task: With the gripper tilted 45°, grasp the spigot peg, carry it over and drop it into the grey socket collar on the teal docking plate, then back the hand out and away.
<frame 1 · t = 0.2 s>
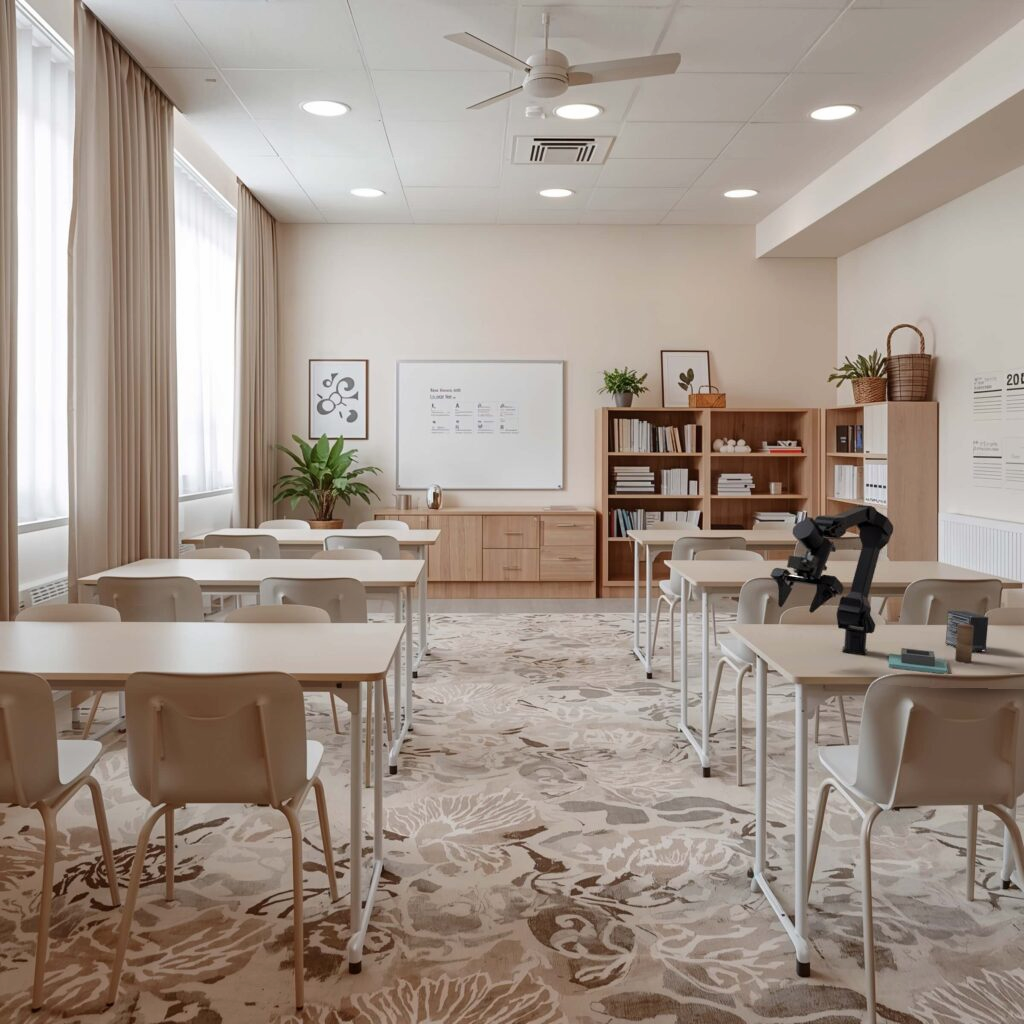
hand: (794, 609, 234), 15 cm above the table, tool tilted 35°, fingers open, 9 cm apart
small box: (965, 649, 266), on the table
docking socket: (917, 665, 241), on the table
spigot peg: (963, 661, 248), on the table
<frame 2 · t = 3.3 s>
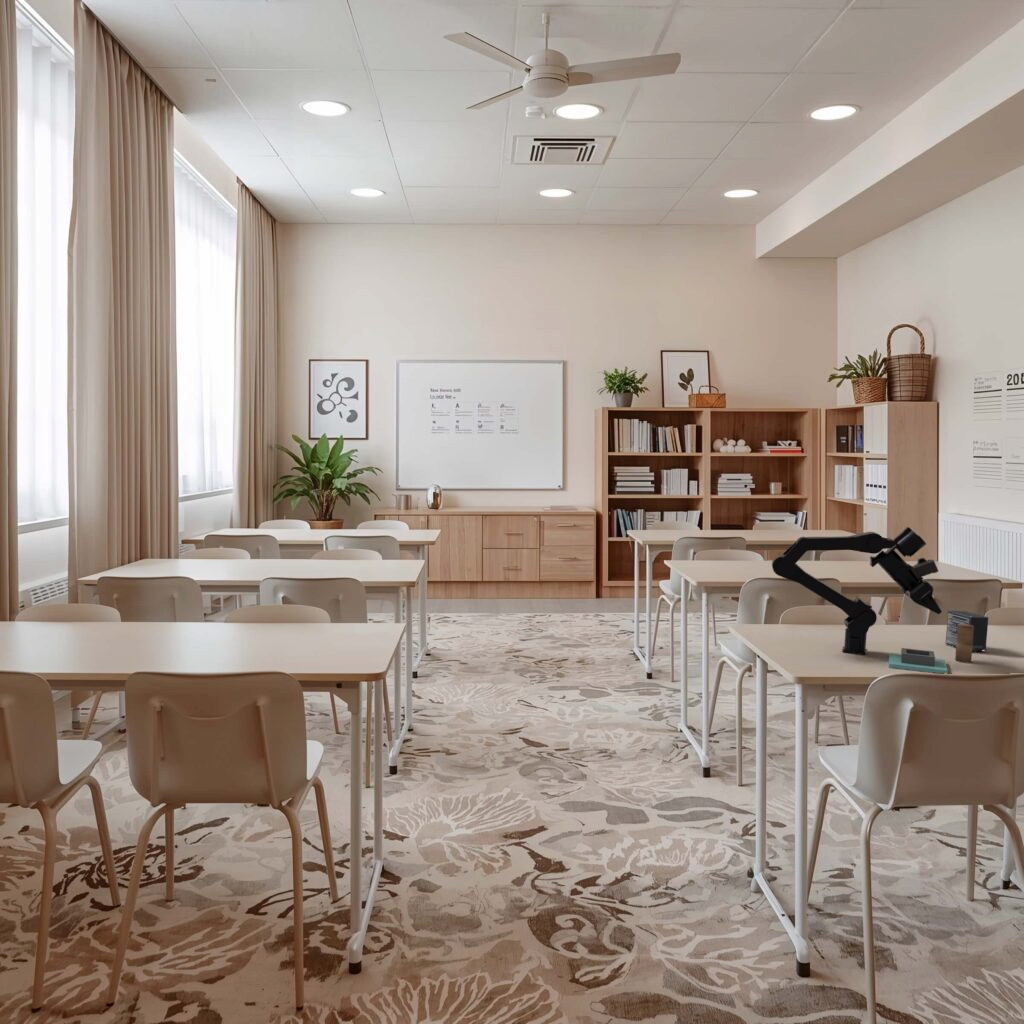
hand: (936, 610, 249), 14 cm above the table, tool tilted 45°, fingers open, 9 cm apart
nothing on the table moved.
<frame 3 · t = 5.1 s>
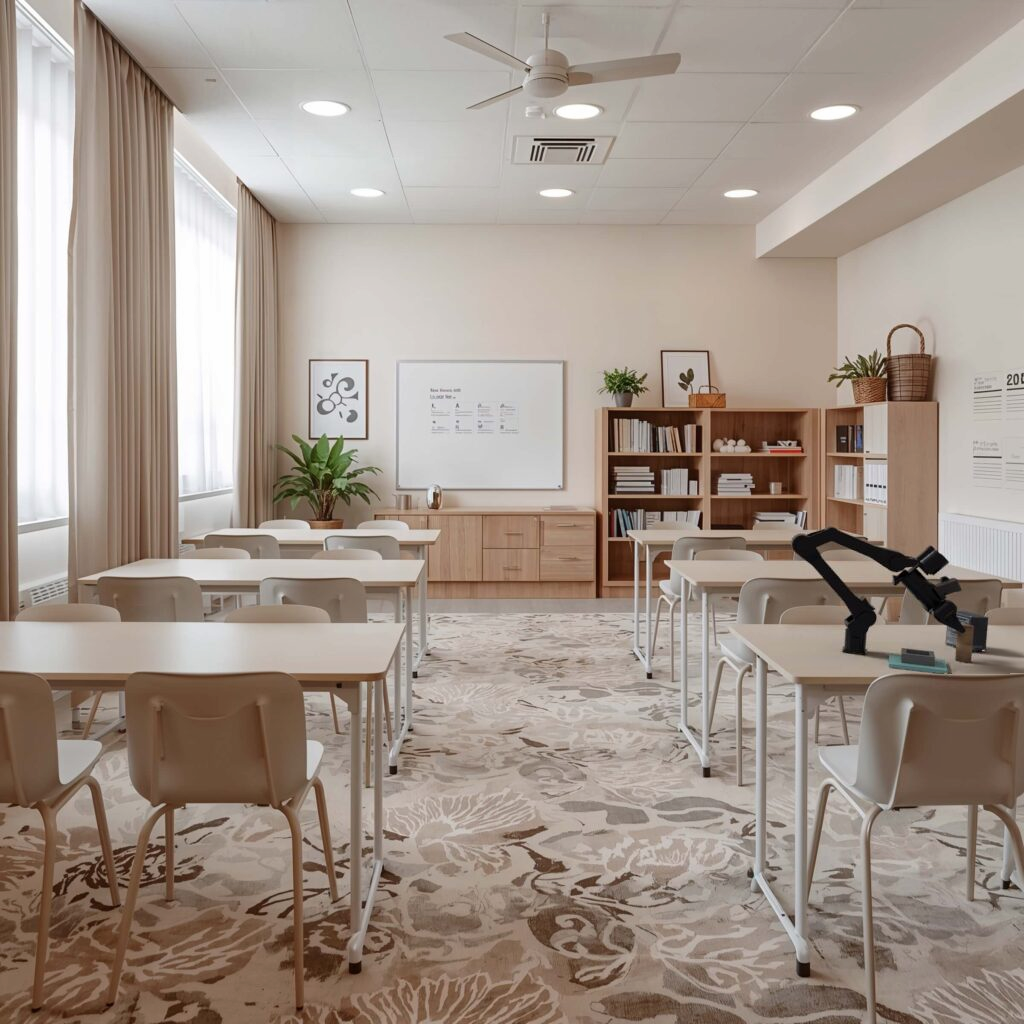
hand: (960, 629, 248), 9 cm above the table, tool tilted 45°, fingers open, 9 cm apart
nothing on the table moved.
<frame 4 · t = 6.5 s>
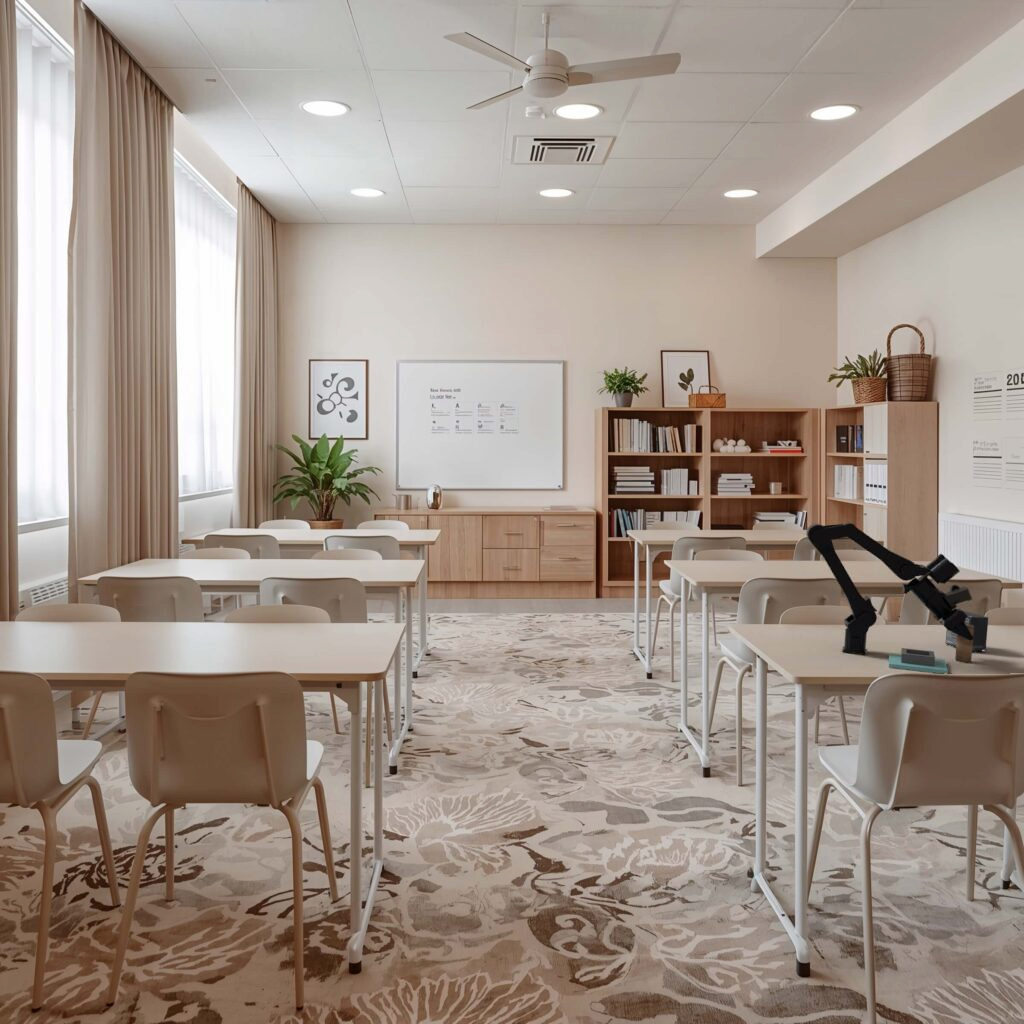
hand: (970, 637, 247), 7 cm above the table, tool tilted 45°, fingers closed on spigot peg, 4 cm apart
spigot peg: (963, 661, 248), on the table, touching gripper
everything else where it was.
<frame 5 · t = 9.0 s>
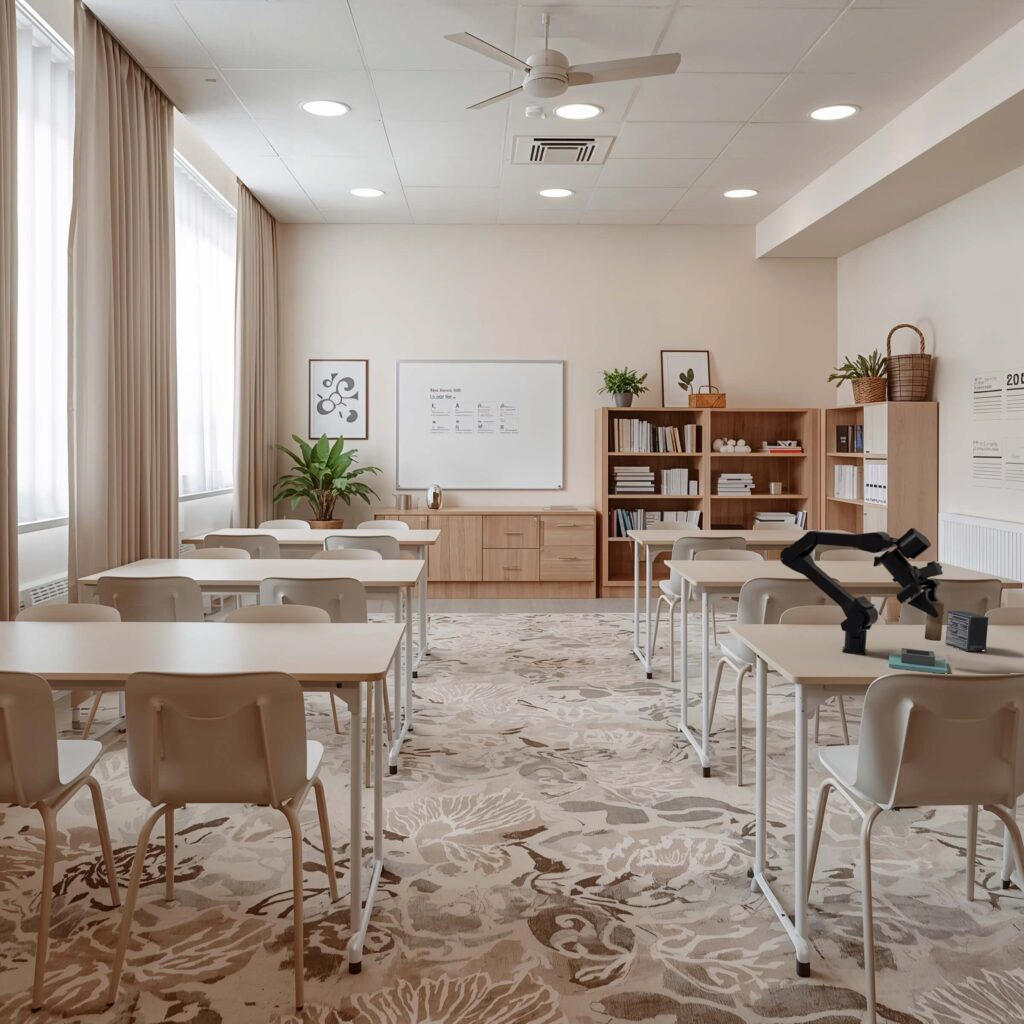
hand: (940, 615, 240), 14 cm above the table, tool tilted 45°, fingers closed on spigot peg, 4 cm apart
spigot peg: (932, 639, 241), point 7 cm above the table, touching gripper
everything else where it was.
when the fingers open (9 cm above the table, at t = 11.3 s): spigot peg drops 1 cm, resting on docking socket.
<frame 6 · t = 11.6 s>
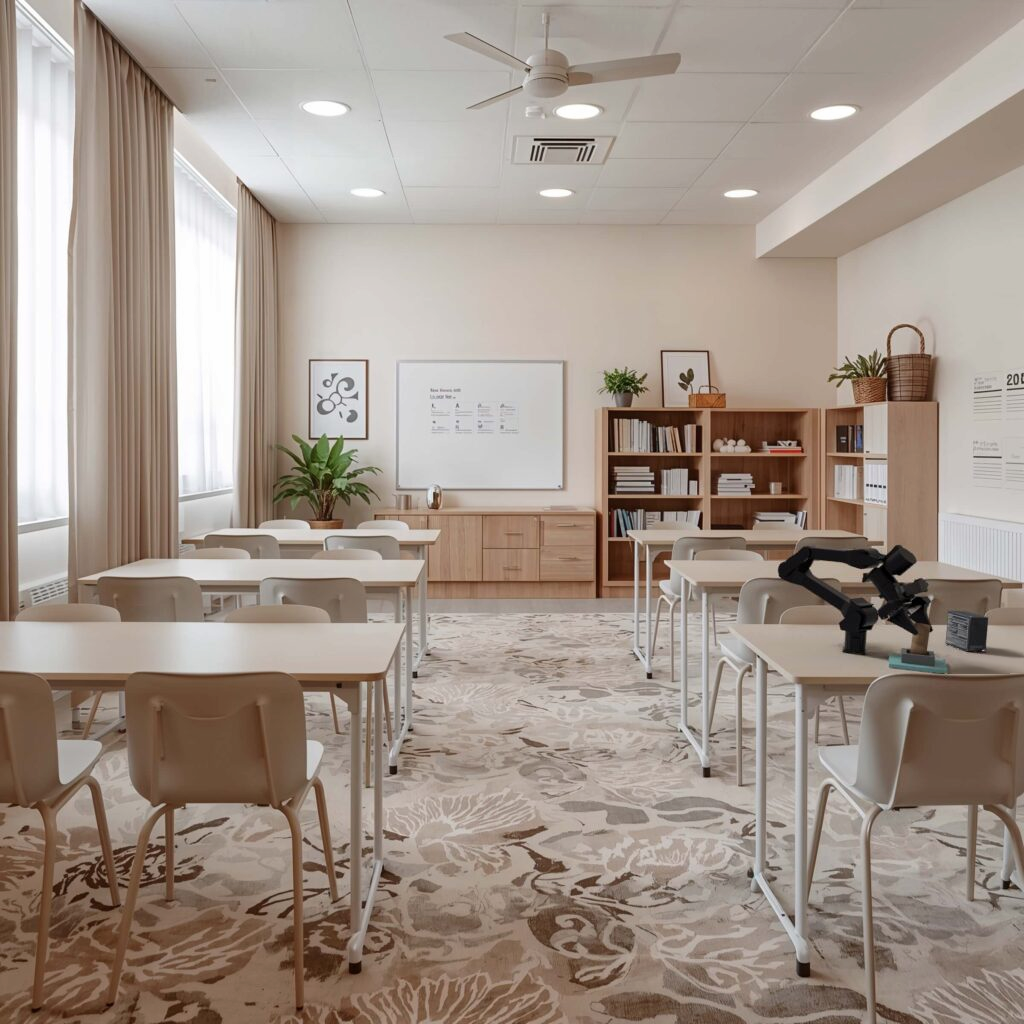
hand: (924, 633, 239), 9 cm above the table, tool tilted 45°, fingers open, 7 cm apart
spigot peg: (917, 661, 241), point 1 cm above the table, touching docking socket
everything else where it was.
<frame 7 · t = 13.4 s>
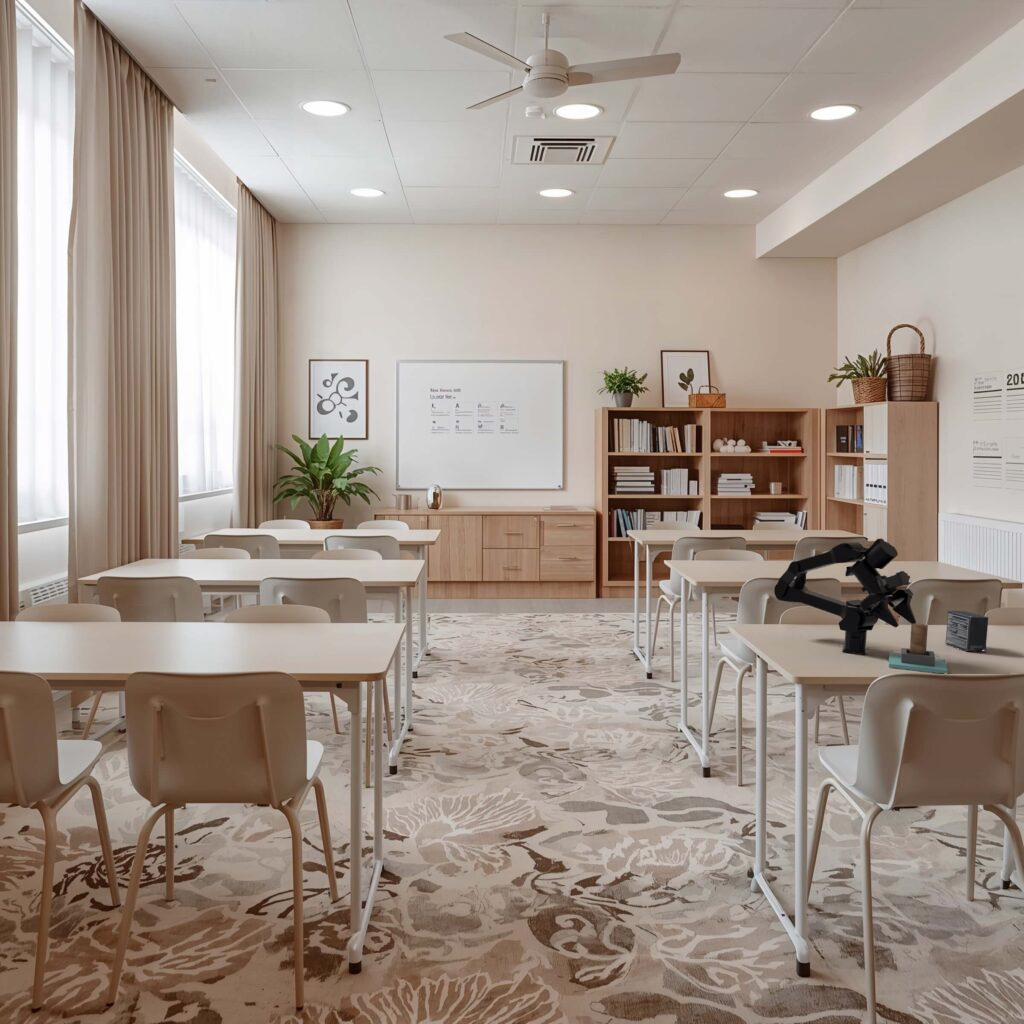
hand: (906, 624, 243), 10 cm above the table, tool tilted 45°, fingers open, 9 cm apart
nothing on the table moved.
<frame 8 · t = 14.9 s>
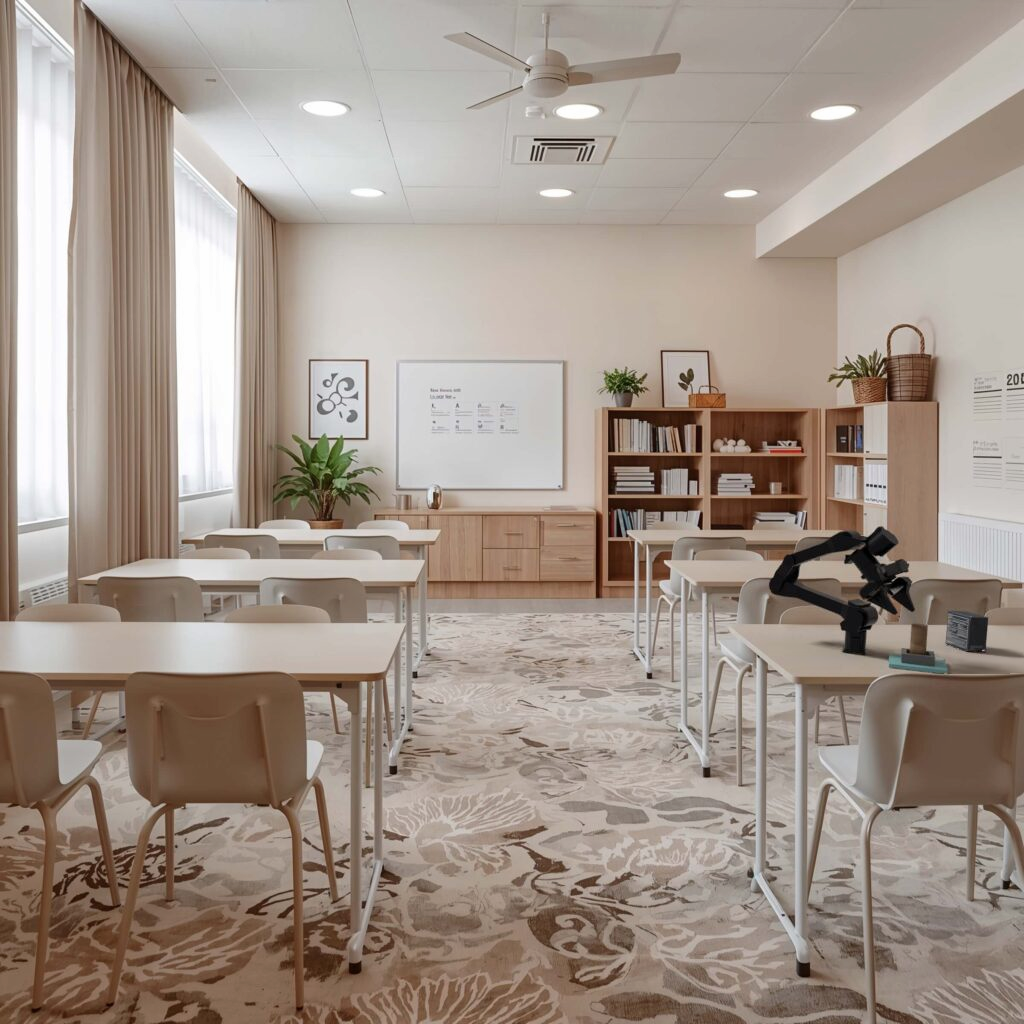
hand: (905, 612, 243), 14 cm above the table, tool tilted 45°, fingers open, 9 cm apart
nothing on the table moved.
at the end: spigot peg 0.0 cm off-centre on the docking socket, point 1.0 cm above the docking socket's base; spigot peg tilted 0°; the gripper is holding nothing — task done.
